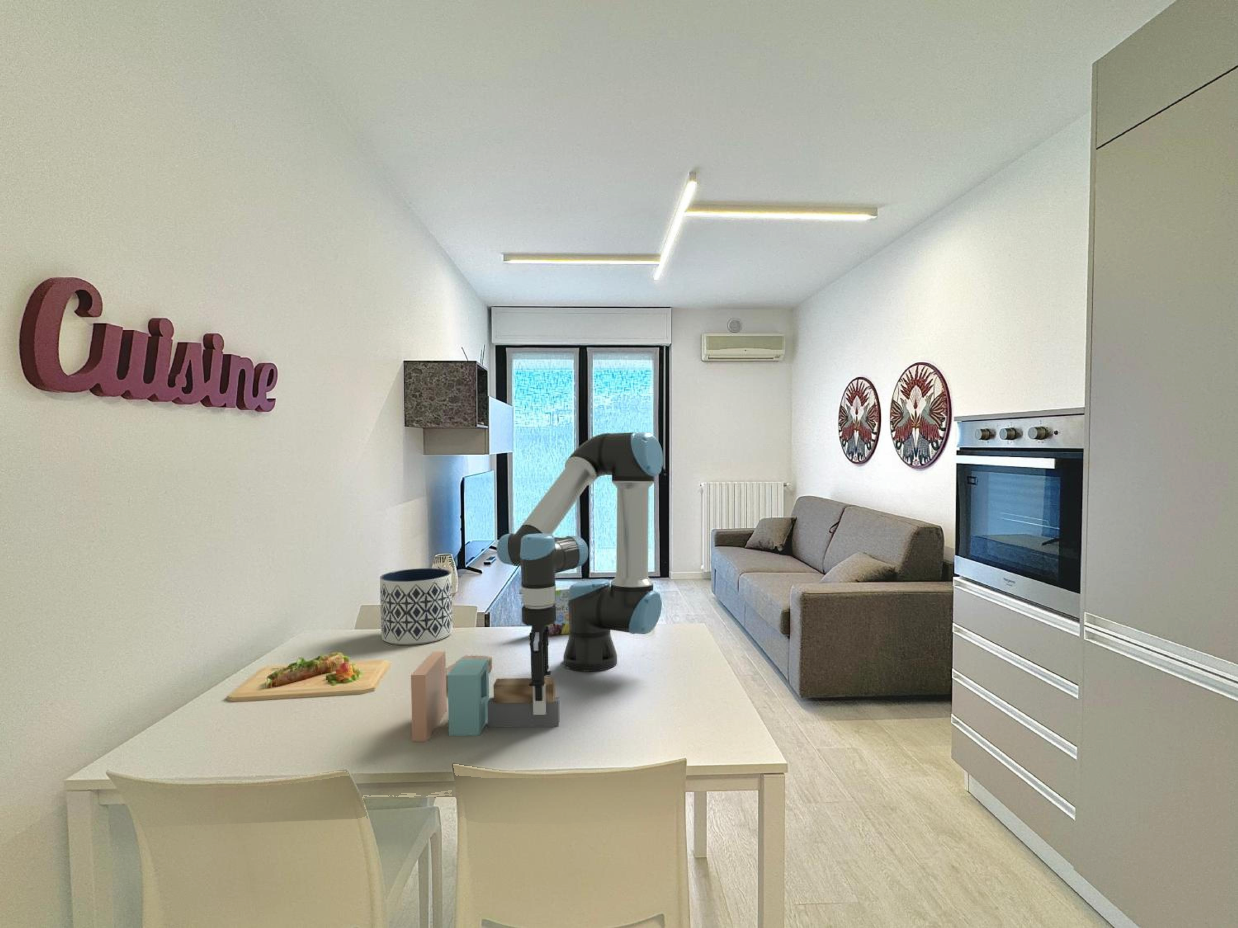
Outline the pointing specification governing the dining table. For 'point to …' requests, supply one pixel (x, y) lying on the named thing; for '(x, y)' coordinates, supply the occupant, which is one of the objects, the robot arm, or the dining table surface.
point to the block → (468, 696)
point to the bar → (520, 690)
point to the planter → (416, 606)
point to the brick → (467, 658)
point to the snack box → (561, 612)
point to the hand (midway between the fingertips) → (540, 709)
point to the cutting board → (312, 679)
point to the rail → (521, 714)
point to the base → (428, 695)
